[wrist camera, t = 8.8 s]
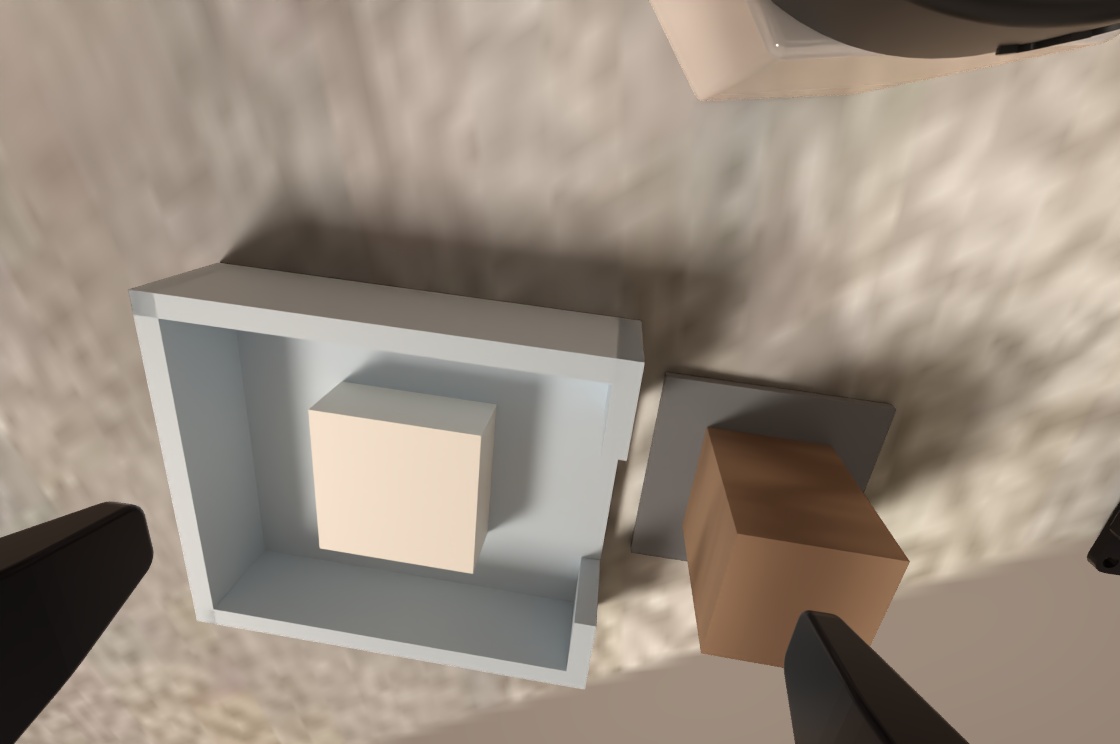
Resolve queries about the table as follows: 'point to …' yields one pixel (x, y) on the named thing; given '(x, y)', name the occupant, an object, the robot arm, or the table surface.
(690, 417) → the rubber mat
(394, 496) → the access box
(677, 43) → the jar
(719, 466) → the walnut block
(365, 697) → the table surface
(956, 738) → the robot arm
